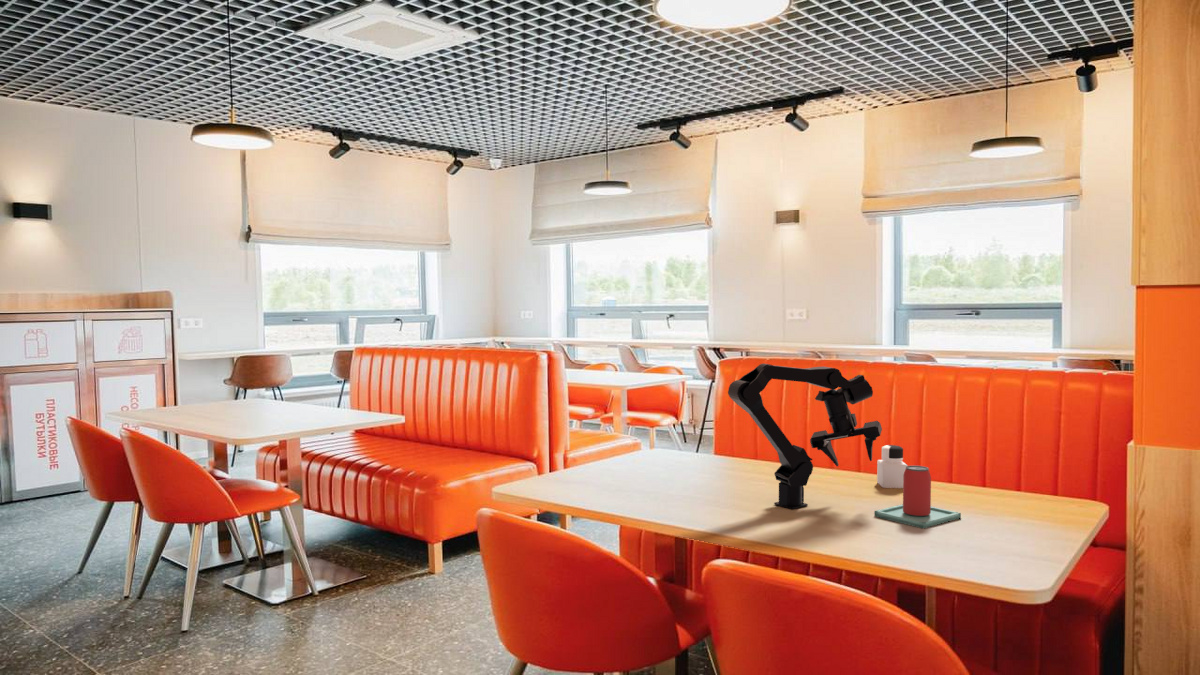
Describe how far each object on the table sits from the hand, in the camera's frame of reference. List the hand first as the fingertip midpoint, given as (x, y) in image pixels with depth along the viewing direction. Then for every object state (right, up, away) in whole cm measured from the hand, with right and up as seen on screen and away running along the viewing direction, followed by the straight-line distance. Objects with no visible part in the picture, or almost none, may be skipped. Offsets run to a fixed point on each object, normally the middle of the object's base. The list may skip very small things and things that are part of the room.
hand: (854, 463), depth 225 cm
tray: (+11, -11, -17) cm, 23 cm away
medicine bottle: (+17, -10, +19) cm, 28 cm away
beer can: (+11, -11, -17) cm, 22 cm away
